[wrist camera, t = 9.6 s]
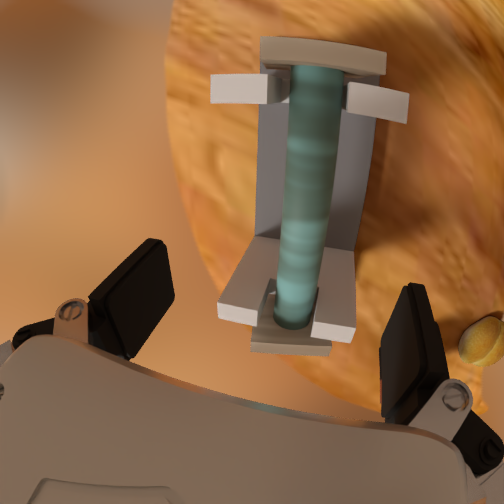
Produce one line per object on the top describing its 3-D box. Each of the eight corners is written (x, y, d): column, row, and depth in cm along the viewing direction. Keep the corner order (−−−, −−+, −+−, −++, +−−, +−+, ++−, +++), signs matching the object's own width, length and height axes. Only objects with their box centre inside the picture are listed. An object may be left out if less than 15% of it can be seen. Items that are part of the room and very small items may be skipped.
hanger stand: (264, 45, 21) (212, 13, 11) (378, 56, 19) (412, 26, 9) (256, 270, 33) (220, 348, 24) (343, 285, 31) (338, 372, 21)
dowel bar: (266, 52, 16) (260, 36, 10) (356, 62, 15) (386, 52, 10) (257, 300, 26) (250, 351, 21) (322, 305, 26) (328, 356, 21)
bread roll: (480, 307, 28) (489, 328, 24) (514, 323, 27) (523, 342, 23) (444, 349, 32) (449, 370, 29) (481, 360, 31) (487, 380, 28)
